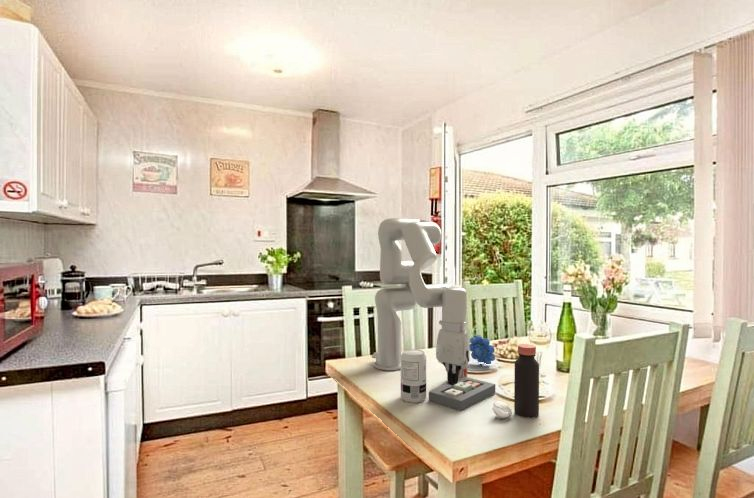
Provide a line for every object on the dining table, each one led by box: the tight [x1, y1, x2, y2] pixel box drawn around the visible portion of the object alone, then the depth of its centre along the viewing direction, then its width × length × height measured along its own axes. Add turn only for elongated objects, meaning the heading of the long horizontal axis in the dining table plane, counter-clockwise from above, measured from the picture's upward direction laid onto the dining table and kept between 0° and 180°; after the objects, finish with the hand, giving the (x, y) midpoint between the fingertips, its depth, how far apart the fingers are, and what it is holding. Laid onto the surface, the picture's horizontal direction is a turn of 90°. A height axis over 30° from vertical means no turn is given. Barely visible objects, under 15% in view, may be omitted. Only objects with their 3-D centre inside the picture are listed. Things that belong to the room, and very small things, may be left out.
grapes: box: [469, 334, 496, 365], centre depth 177 cm, size 12×7×12 cm, turn 50°
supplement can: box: [400, 349, 427, 404], centre depth 140 cm, size 8×8×15 cm
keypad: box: [428, 376, 496, 412], centre depth 142 cm, size 12×21×3 cm, turn 137°
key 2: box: [454, 382, 472, 392], centre depth 142 cm, size 4×4×2 cm
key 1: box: [445, 388, 463, 397], centre depth 138 cm, size 4×4×2 cm
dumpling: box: [492, 400, 513, 419], centre depth 126 cm, size 7×5×4 cm
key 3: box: [465, 381, 480, 388], centre depth 146 cm, size 4×4×2 cm
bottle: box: [513, 343, 540, 419], centre depth 128 cm, size 7×7×20 cm
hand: (452, 383), depth 139 cm, fingers closed
